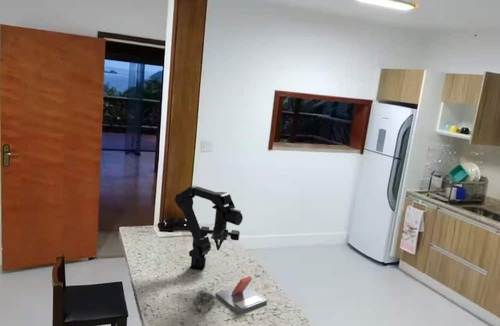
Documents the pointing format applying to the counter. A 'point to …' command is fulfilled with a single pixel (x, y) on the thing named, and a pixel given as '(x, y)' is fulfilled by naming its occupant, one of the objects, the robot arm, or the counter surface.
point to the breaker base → (241, 299)
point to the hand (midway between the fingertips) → (218, 249)
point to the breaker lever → (241, 285)
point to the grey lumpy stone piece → (206, 298)
